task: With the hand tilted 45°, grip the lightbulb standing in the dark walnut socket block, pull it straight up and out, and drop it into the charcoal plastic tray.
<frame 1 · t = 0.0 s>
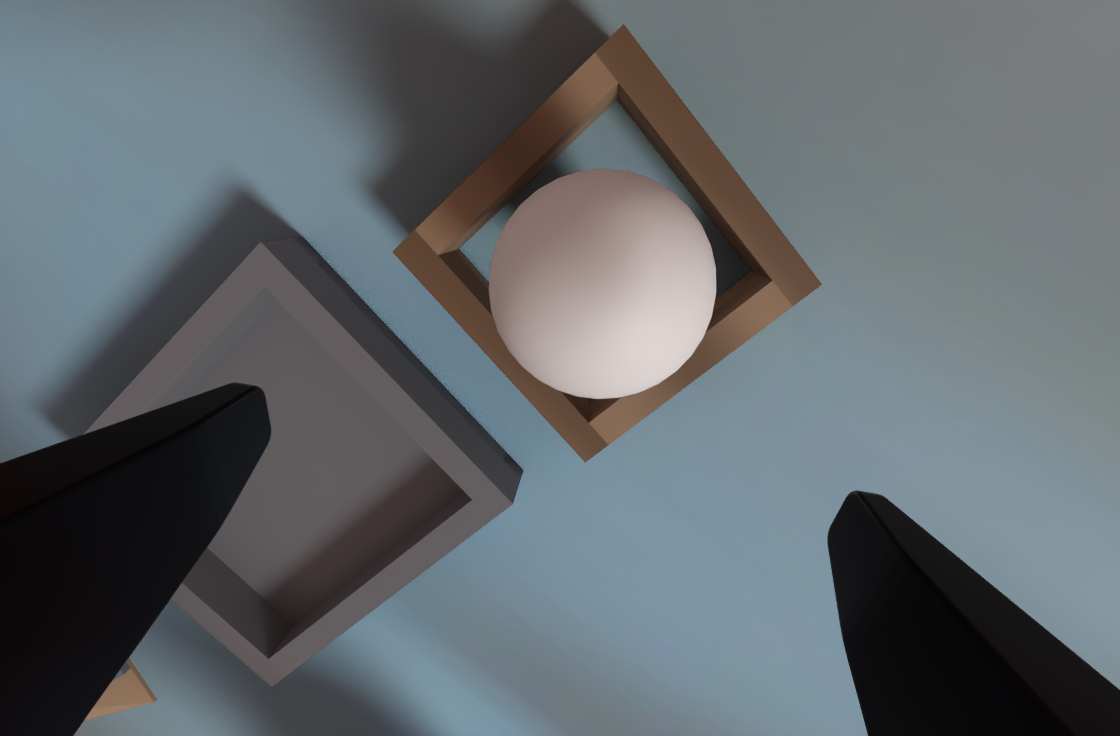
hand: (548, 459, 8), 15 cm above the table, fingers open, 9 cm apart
alarm clock: (33, 631, 31), on the table
socket block: (602, 259, 23), on the table
tray: (303, 462, 27), on the table
lightbulb: (602, 259, 23), resting in socket block
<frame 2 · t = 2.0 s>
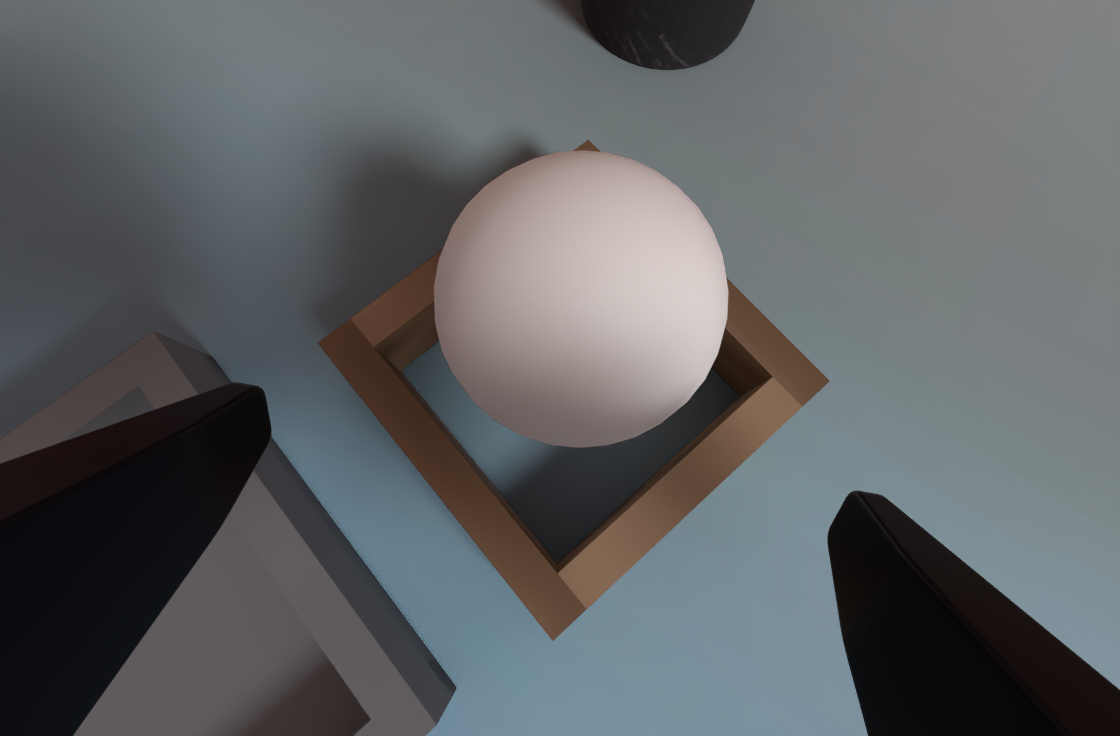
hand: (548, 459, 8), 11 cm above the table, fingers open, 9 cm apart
socket block: (569, 383, 20), on the table
tray: (111, 686, 17), on the table
lightbulb: (569, 384, 20), resting in socket block
travel mug: (662, 5, 24), on the table
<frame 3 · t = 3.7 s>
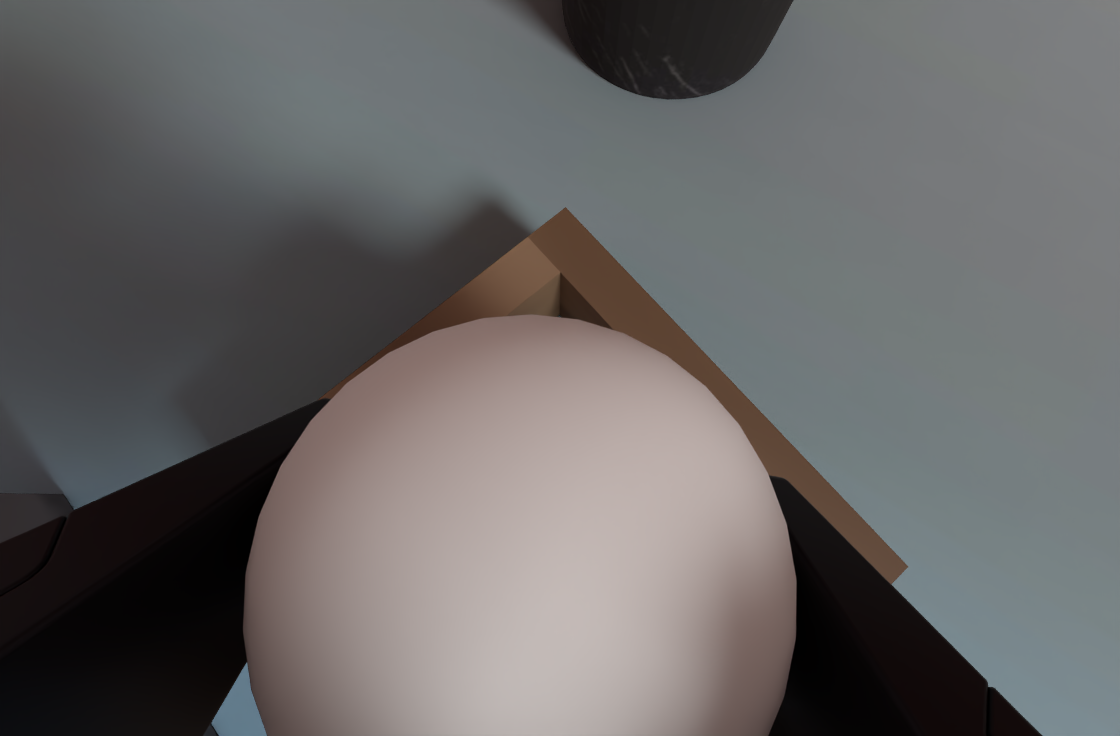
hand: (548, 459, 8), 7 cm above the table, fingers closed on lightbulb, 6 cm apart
socket block: (542, 531, 15), on the table
lightbulb: (542, 530, 15), resting in socket block, touching gripper
travel mug: (667, 15, 19), on the table
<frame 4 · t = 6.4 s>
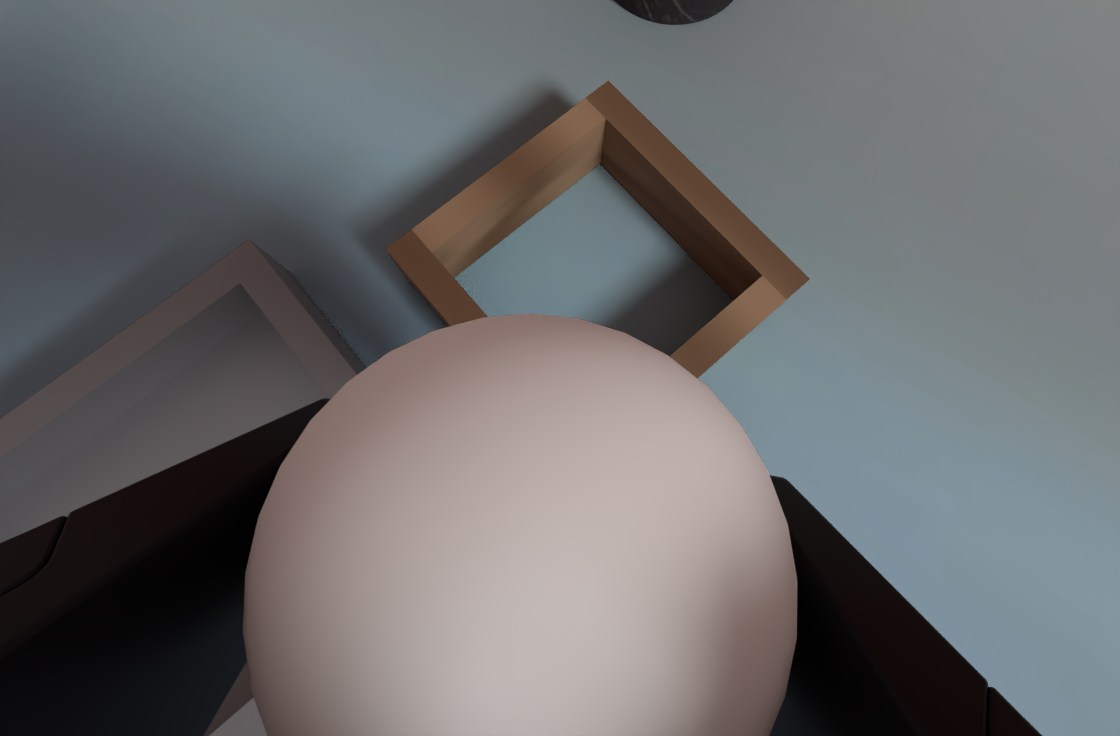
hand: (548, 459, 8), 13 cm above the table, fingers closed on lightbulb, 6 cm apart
socket block: (591, 292, 23), on the table
tray: (218, 532, 21), on the table
lightbulb: (543, 529, 15), point 6 cm above the table, touching gripper
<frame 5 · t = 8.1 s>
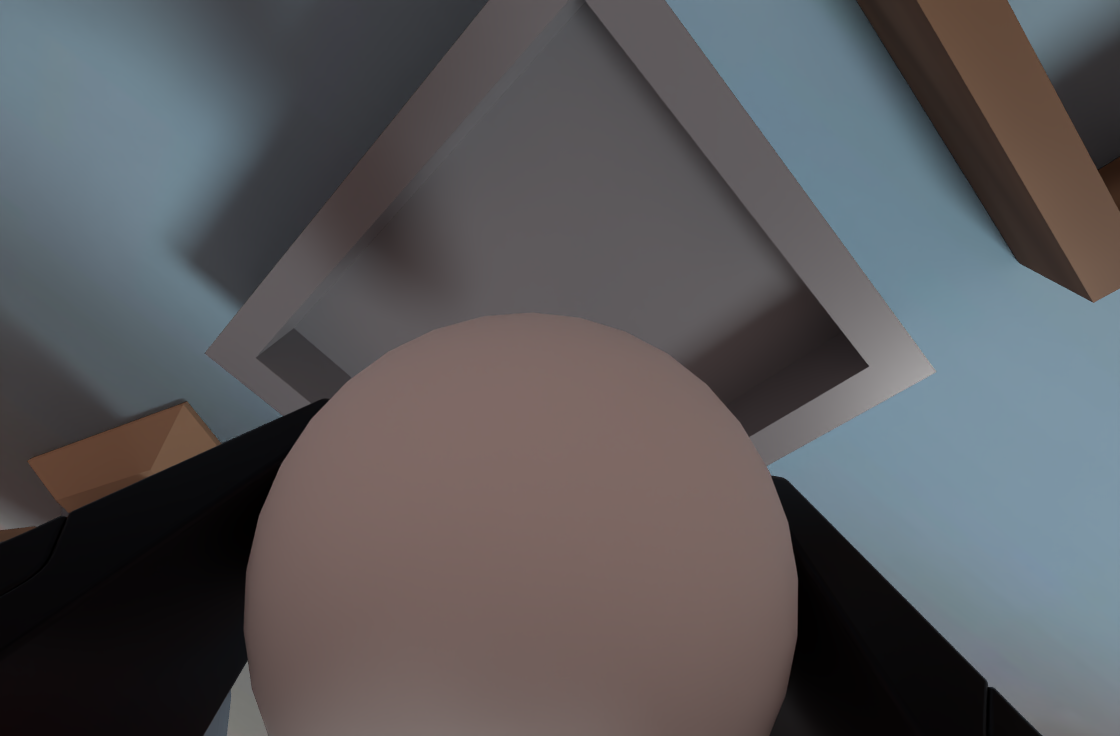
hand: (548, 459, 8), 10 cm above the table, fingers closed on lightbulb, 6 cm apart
alarm clock: (200, 529, 27), on the table
tray: (553, 319, 19), on the table
lightbulb: (542, 529, 15), point 6 cm above the table, touching gripper
when the fingers open (7 cm above the table, at t = 9.4 s): lightbulb stays where it is, resting on tray.
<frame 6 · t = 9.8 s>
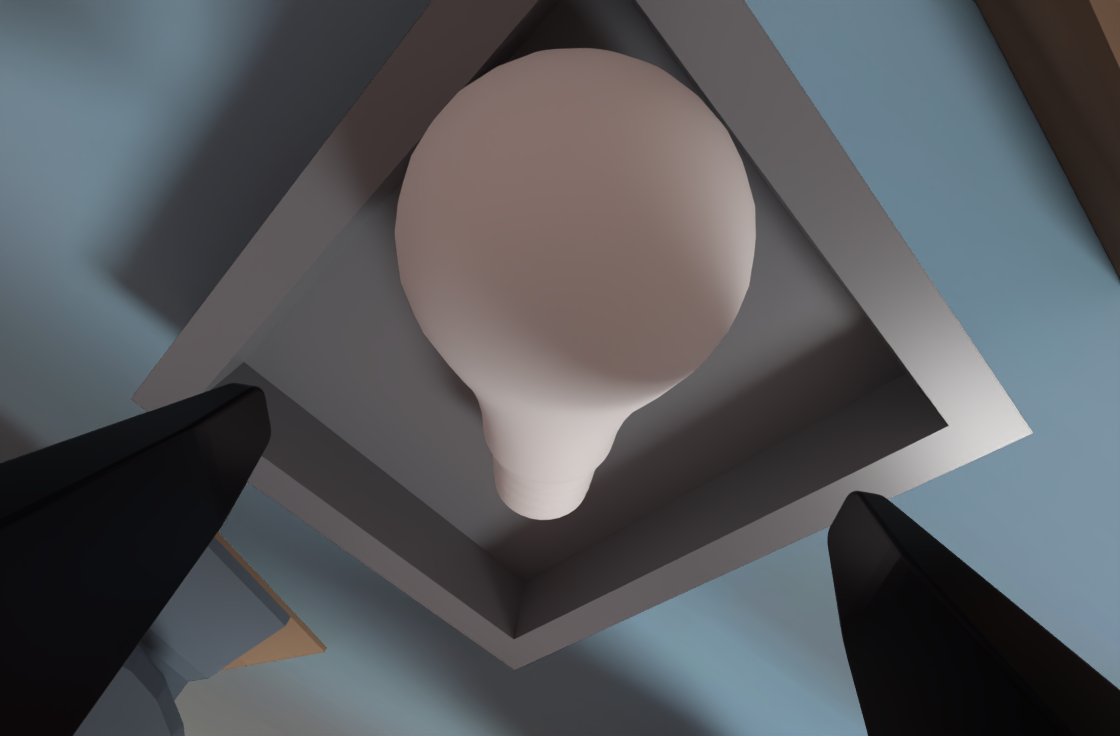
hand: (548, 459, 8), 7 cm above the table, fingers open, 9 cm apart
alarm clock: (156, 571, 24), on the table
tray: (554, 352, 16), on the table
lightbulb: (538, 499, 15), point 2 cm above the table, touching tray
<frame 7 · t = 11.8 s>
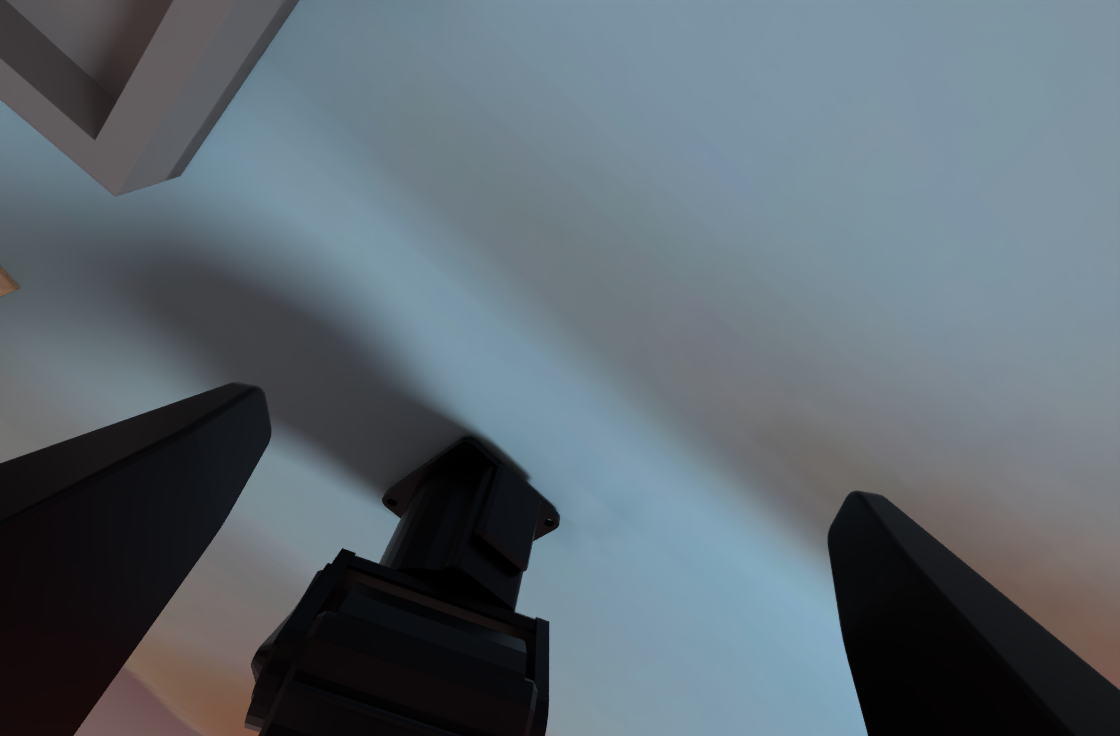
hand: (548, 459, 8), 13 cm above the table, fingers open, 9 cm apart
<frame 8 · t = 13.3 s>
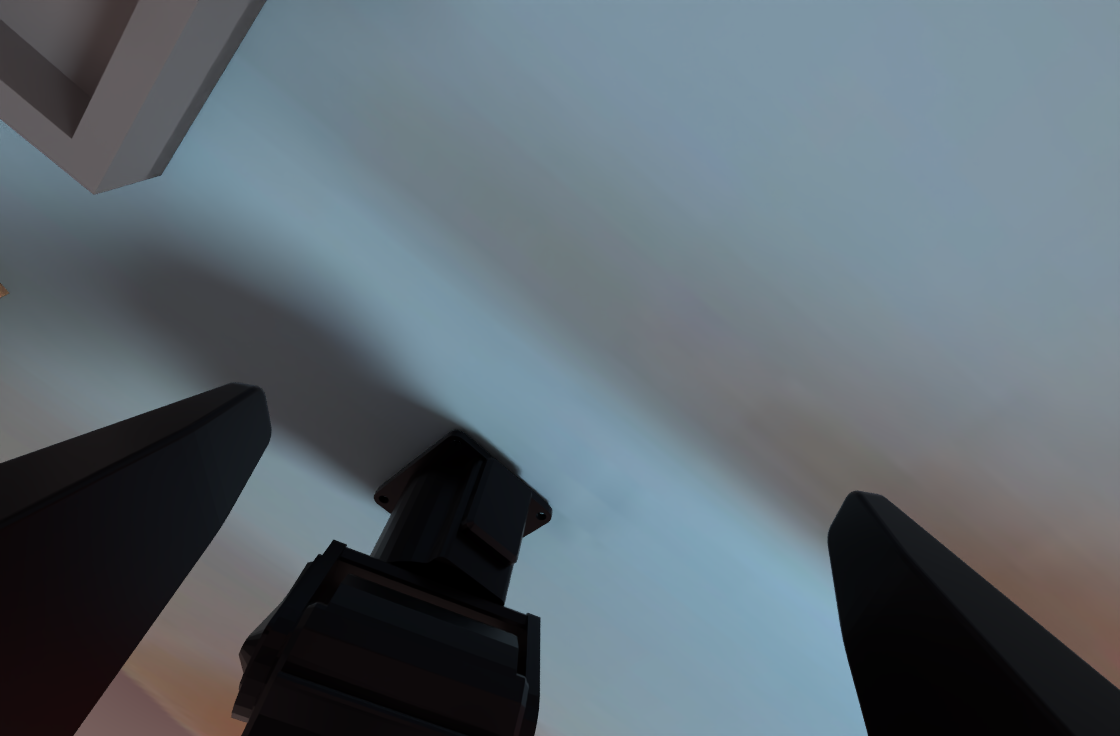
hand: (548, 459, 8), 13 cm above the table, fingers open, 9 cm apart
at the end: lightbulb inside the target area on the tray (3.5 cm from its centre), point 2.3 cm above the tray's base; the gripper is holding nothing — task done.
